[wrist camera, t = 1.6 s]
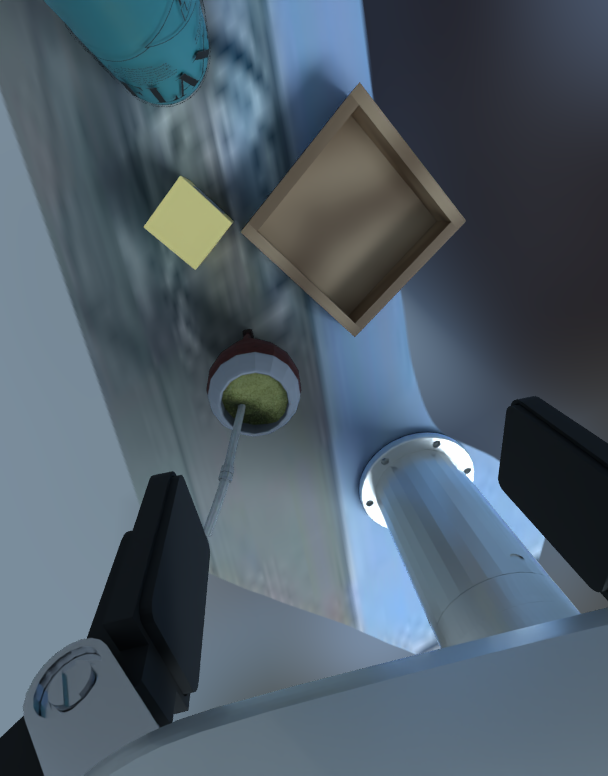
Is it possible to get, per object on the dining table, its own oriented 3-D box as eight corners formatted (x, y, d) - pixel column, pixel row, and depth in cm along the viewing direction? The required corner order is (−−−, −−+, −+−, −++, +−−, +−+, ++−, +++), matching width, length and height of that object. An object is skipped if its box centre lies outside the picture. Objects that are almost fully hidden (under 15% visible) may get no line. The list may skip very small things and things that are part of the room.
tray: (446, 220, 30) (466, 221, 28) (346, 326, 33) (354, 337, 30) (348, 95, 26) (359, 82, 23) (241, 230, 29) (240, 232, 26)
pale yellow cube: (234, 220, 28) (232, 222, 25) (201, 262, 29) (195, 270, 26) (189, 179, 27) (180, 174, 23) (156, 224, 28) (142, 226, 24)
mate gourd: (286, 317, 32) (313, 395, 19) (299, 399, 35) (330, 514, 22) (199, 332, 32) (161, 422, 18) (221, 413, 35) (202, 539, 22)
